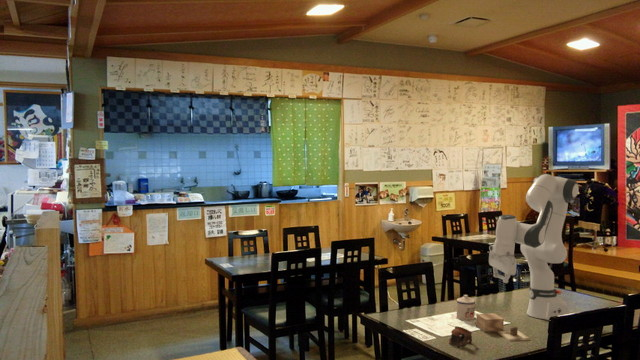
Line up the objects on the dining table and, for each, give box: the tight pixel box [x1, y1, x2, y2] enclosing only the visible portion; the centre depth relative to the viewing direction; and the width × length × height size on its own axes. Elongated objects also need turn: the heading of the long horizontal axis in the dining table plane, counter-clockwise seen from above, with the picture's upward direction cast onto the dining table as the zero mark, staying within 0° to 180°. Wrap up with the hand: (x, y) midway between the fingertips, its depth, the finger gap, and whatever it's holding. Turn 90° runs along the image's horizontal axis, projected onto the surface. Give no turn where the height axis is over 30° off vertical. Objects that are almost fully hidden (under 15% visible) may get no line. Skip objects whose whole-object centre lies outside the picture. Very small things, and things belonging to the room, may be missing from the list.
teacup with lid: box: [456, 294, 477, 322], centre depth 252 cm, size 12×9×12 cm
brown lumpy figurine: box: [448, 325, 473, 347], centre depth 214 cm, size 12×10×8 cm
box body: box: [475, 312, 505, 334], centre depth 234 cm, size 9×9×6 cm
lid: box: [497, 325, 531, 342], centre depth 224 cm, size 10×10×5 cm
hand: (500, 279), depth 230 cm, fingers open, 8 cm apart
